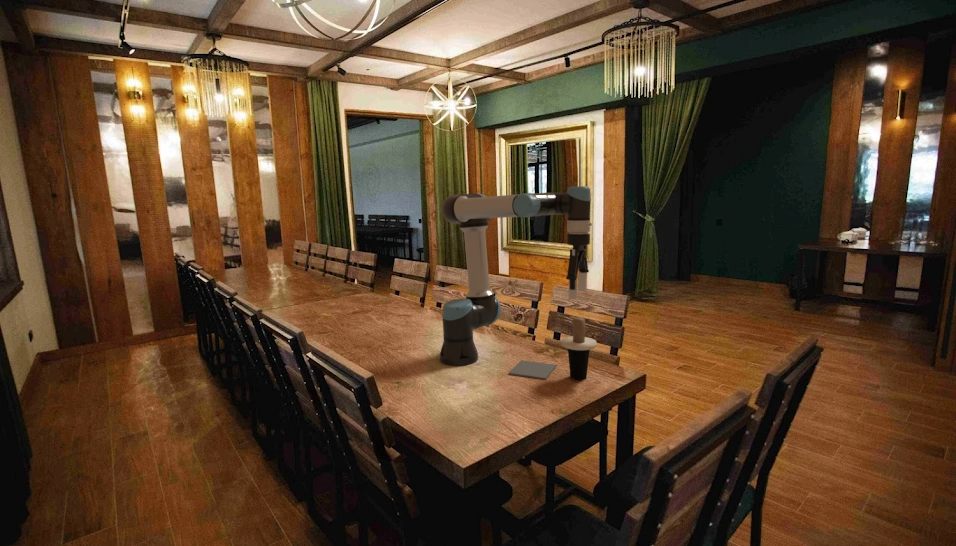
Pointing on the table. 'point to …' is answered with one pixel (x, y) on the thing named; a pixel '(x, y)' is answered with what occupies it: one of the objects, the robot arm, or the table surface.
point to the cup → (578, 364)
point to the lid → (578, 337)
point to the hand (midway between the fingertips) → (577, 294)
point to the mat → (533, 369)
